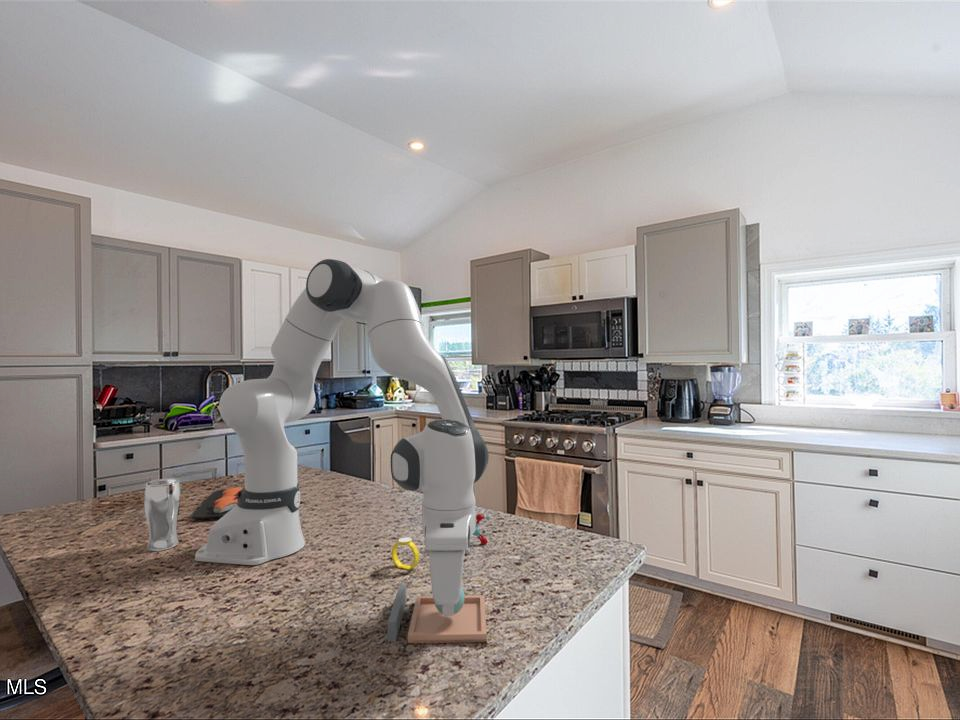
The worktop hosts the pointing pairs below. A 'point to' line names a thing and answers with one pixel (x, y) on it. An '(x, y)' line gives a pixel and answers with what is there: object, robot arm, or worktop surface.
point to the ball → (456, 606)
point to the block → (396, 613)
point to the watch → (416, 553)
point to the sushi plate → (218, 504)
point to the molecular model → (483, 540)
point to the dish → (448, 622)
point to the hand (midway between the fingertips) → (449, 604)
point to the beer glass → (162, 513)
